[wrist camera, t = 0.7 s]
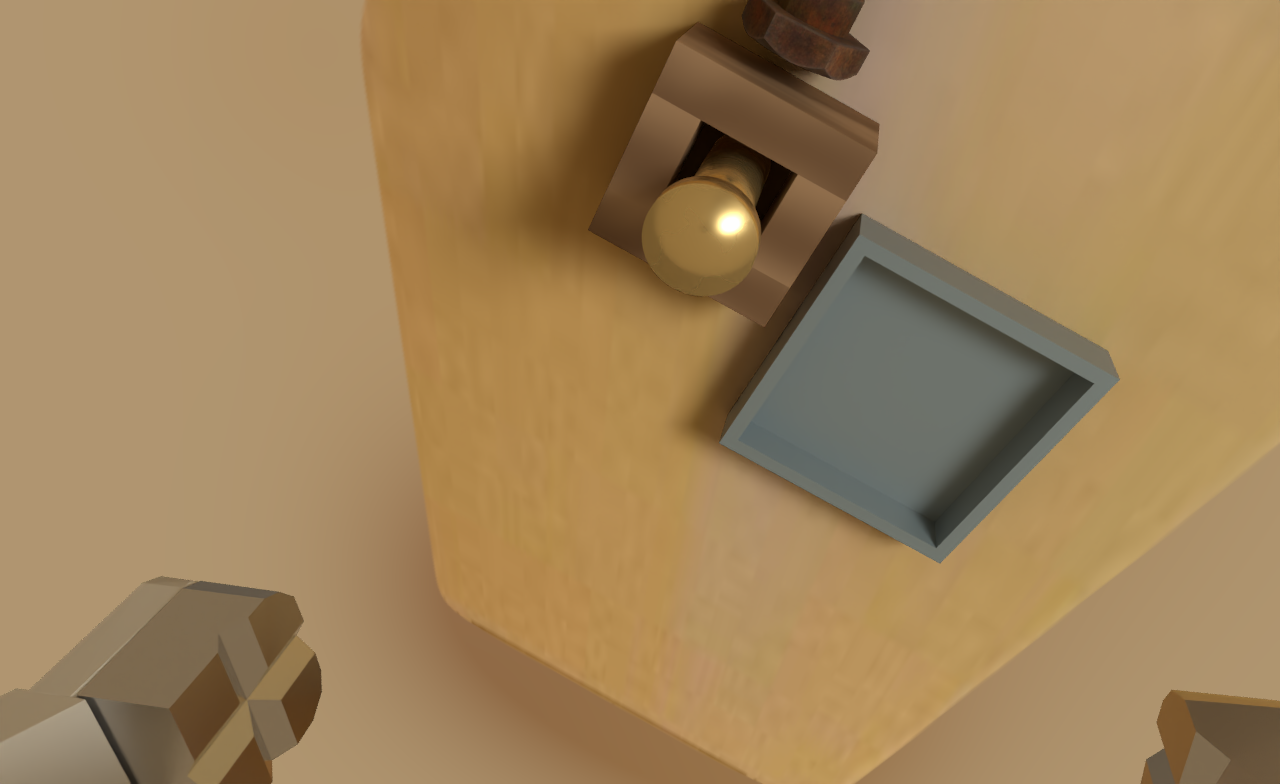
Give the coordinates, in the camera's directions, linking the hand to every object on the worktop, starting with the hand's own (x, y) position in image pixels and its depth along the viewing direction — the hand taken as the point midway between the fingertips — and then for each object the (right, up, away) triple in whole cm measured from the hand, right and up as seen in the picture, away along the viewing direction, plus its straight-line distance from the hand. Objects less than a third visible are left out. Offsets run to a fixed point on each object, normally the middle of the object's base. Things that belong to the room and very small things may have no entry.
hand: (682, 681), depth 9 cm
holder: (+5, +14, +38) cm, 40 cm away
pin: (+5, +14, +38) cm, 40 cm away
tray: (+14, +3, +42) cm, 44 cm away
